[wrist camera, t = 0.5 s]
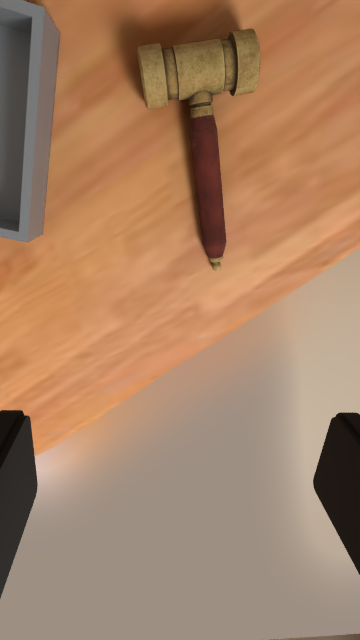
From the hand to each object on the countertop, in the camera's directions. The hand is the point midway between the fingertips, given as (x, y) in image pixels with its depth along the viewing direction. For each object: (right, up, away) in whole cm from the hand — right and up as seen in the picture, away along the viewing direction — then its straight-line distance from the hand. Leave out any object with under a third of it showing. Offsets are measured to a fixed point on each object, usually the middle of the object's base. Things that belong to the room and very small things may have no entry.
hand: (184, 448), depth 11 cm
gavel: (+2, +20, +25) cm, 32 cm away
